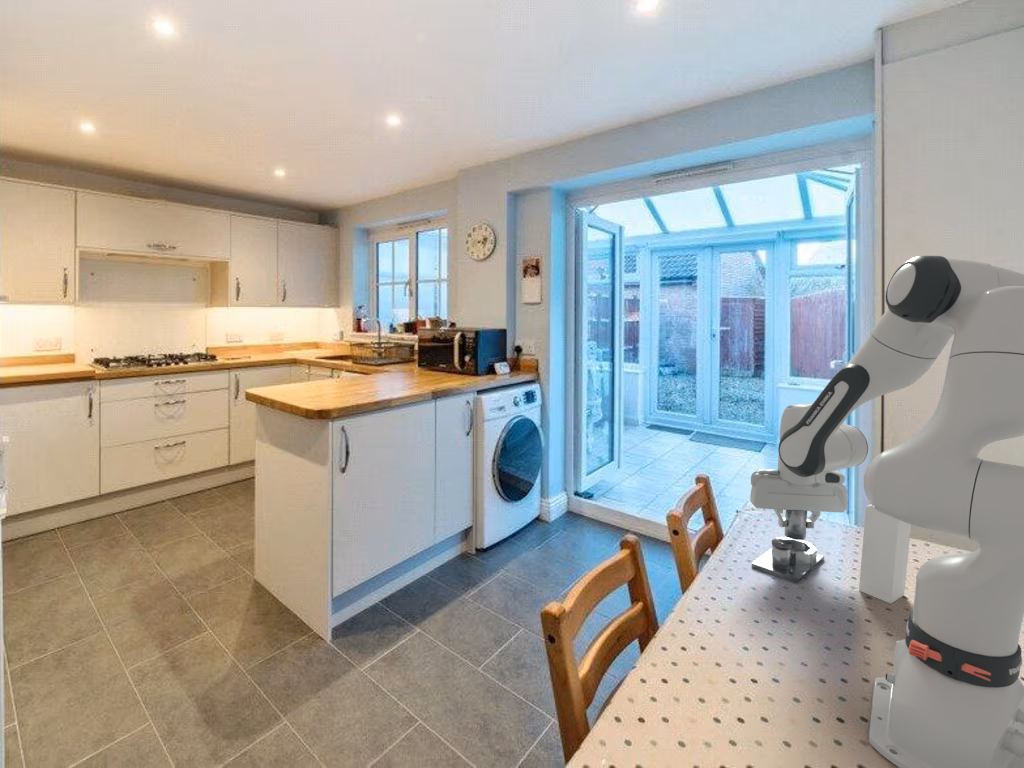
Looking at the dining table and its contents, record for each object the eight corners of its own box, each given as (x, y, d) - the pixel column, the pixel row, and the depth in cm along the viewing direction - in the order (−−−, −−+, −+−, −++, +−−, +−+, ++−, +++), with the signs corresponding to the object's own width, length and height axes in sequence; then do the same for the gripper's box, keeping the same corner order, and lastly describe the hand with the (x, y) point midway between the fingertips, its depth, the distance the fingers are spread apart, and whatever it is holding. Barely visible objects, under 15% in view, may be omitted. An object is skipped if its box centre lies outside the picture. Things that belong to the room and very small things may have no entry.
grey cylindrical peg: (808, 540, 117) (810, 512, 116) (787, 539, 118) (789, 511, 117) (801, 532, 121) (803, 504, 120) (781, 531, 122) (783, 504, 121)
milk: (858, 591, 106) (865, 491, 103) (872, 582, 109) (879, 485, 106) (891, 604, 101) (900, 500, 98) (905, 595, 104) (914, 494, 101)
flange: (797, 583, 109) (799, 555, 108) (751, 566, 117) (753, 540, 116) (823, 559, 119) (825, 533, 118) (779, 545, 127) (781, 520, 126)
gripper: (755, 473, 116) (752, 529, 118) (853, 476, 112) (848, 535, 114) (748, 465, 122) (745, 518, 124) (840, 468, 118) (836, 523, 120)
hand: (795, 526), depth 119 cm, fingers closed on grey cylindrical peg, 4 cm apart
